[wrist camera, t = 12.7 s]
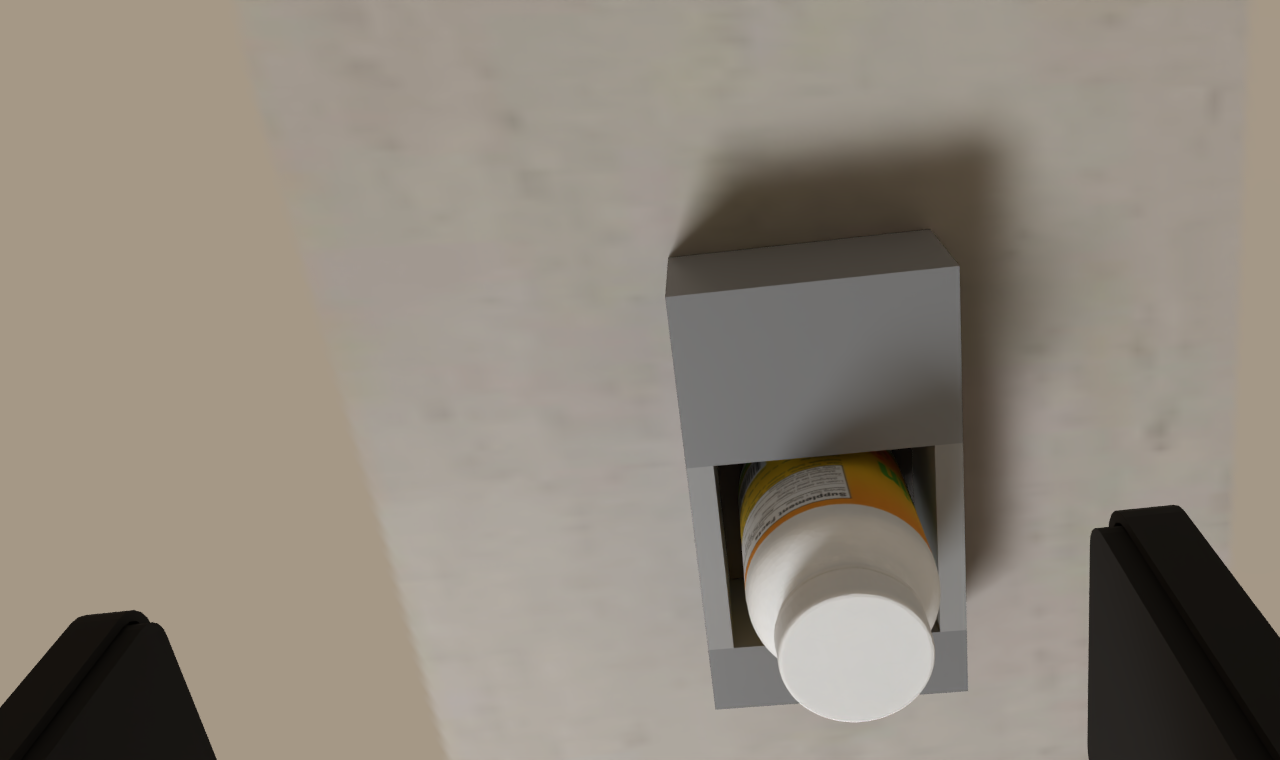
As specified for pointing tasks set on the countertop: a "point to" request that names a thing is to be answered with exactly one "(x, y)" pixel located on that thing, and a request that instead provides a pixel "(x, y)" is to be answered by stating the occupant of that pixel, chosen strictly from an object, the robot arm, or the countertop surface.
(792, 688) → the supplement bottle
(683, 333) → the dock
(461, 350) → the countertop surface
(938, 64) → the countertop surface
